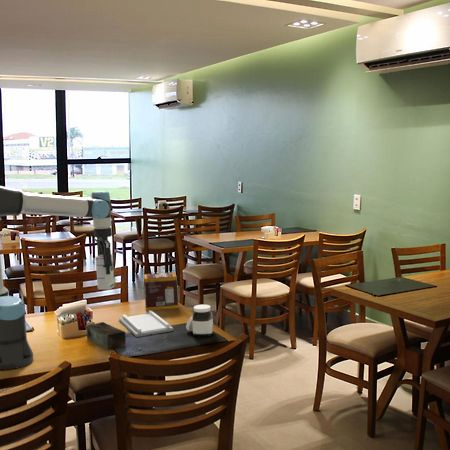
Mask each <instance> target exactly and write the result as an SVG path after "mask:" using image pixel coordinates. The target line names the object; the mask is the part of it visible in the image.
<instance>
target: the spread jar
mask: <svg viewBox="0 0 450 450" xmlns="http://www.w3.org/2000/svg"><path fill="white" fill-rule="evenodd" d="M211 310H212V309H211V305H209V304H197V305H194V306H193V312H192V316H190V318H189V319H188V320H187V322H186V325H185V327H186V328H185V329H186V330H187V331H188V332H192V334H193V335H194V336H195V337H197V338H207V337H211V336H212V335H213V332H214V319H213V312H212V311H211Z"/></svg>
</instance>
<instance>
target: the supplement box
mask: <svg viewBox="0 0 450 450" xmlns="http://www.w3.org/2000/svg"><path fill="white" fill-rule="evenodd" d="M177 278H178V276H177V275H176V273H175V272H174V271H172V272H159V273H146V274H143V286H144V287H143V288H144V302H145V310H146V311H147V312H149V311H158V310H172V309H179V297H178V293H179V292H178V279H177Z"/></svg>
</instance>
